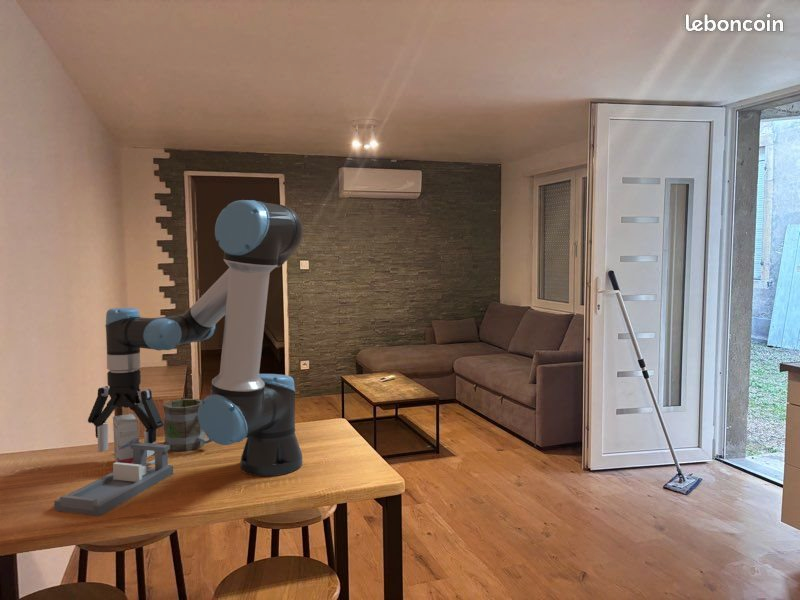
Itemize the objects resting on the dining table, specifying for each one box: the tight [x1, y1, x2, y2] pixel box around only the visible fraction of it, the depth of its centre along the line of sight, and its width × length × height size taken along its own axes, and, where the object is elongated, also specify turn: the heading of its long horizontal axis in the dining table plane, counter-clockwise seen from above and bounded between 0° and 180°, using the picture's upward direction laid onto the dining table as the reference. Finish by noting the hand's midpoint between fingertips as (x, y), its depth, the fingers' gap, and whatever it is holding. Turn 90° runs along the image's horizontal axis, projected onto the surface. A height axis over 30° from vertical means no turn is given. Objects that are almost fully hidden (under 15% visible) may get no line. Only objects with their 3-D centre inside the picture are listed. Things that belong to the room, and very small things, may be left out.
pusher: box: [112, 458, 155, 482], centre depth 139 cm, size 7×12×4 cm, turn 166°
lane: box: [53, 441, 174, 517], centre depth 130 cm, size 11×24×7 cm, turn 166°
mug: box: [162, 398, 213, 453], centre depth 161 cm, size 16×11×12 cm
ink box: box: [112, 413, 140, 464], centre depth 147 cm, size 9×5×12 cm, turn 33°
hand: (126, 452), depth 147 cm, fingers open, 13 cm apart
